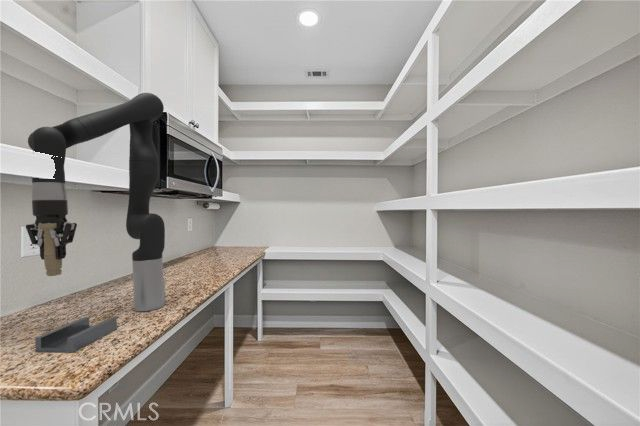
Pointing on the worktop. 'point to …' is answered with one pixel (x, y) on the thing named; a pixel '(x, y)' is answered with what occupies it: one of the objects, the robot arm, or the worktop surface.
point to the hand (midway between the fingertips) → (53, 258)
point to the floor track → (74, 335)
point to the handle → (50, 251)
